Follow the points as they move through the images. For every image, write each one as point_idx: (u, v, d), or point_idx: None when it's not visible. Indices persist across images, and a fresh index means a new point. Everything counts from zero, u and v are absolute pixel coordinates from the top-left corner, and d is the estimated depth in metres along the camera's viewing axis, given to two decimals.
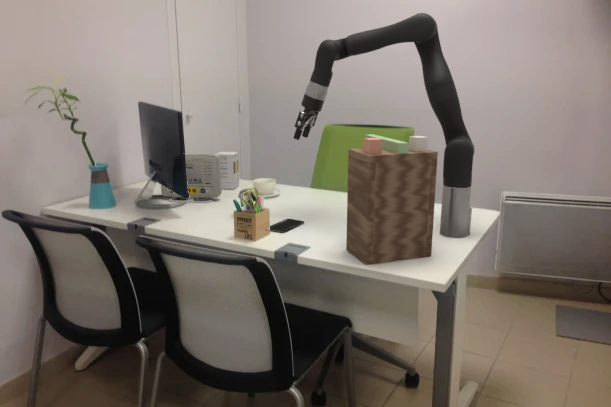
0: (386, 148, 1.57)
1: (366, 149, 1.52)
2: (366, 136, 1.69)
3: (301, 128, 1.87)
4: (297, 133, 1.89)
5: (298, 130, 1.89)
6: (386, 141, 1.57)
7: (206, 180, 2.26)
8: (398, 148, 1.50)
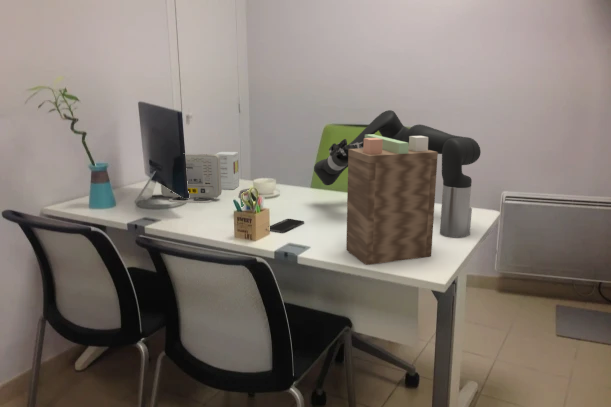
0: (386, 148, 1.57)
1: (366, 149, 1.52)
2: (366, 136, 1.69)
3: (334, 143, 1.88)
4: (340, 143, 1.86)
5: (339, 145, 1.87)
6: (386, 141, 1.57)
7: (206, 180, 2.26)
8: (398, 148, 1.50)
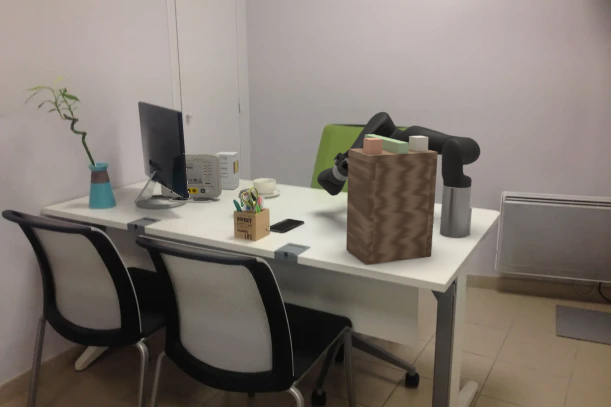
0: (386, 148, 1.57)
1: (366, 149, 1.52)
2: (366, 136, 1.69)
3: None
4: (346, 153, 1.75)
5: (345, 154, 1.76)
6: (386, 141, 1.57)
7: (206, 180, 2.26)
8: (398, 148, 1.50)
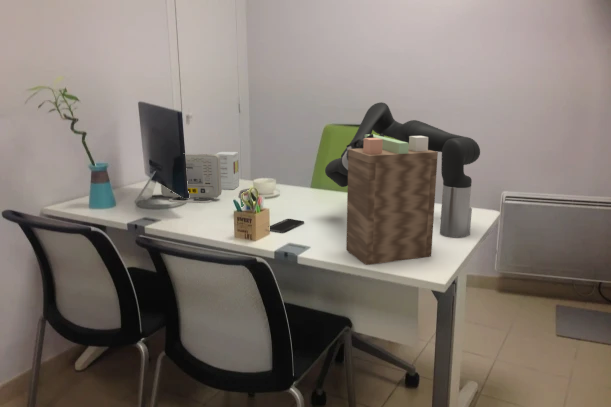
0: (386, 148, 1.57)
1: (366, 149, 1.52)
2: (366, 136, 1.69)
3: (359, 139, 1.68)
4: None
5: None
6: (386, 141, 1.57)
7: (206, 180, 2.26)
8: (398, 148, 1.50)
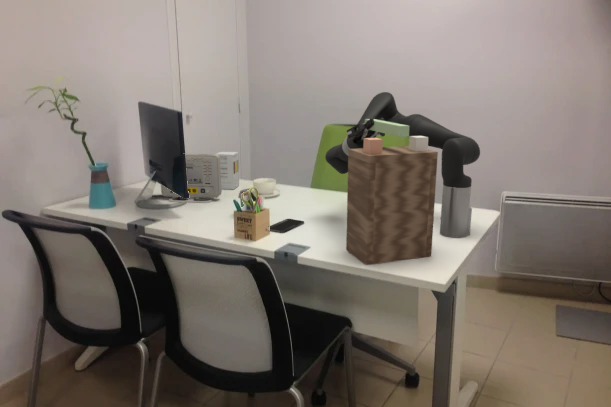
0: (387, 132, 1.56)
1: (366, 149, 1.52)
2: (366, 120, 1.67)
3: (359, 123, 1.67)
4: (366, 123, 1.65)
5: (365, 125, 1.66)
6: (386, 124, 1.55)
7: (206, 180, 2.26)
8: (399, 131, 1.49)
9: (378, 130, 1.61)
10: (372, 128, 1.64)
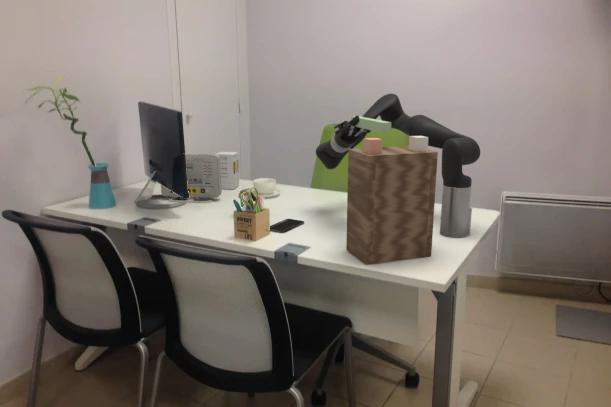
0: (370, 128, 1.65)
1: (366, 149, 1.52)
2: (352, 118, 1.77)
3: None
4: (352, 120, 1.74)
5: (351, 122, 1.75)
6: (370, 121, 1.65)
7: (206, 180, 2.26)
8: (381, 127, 1.59)
9: (363, 127, 1.70)
10: (357, 125, 1.74)
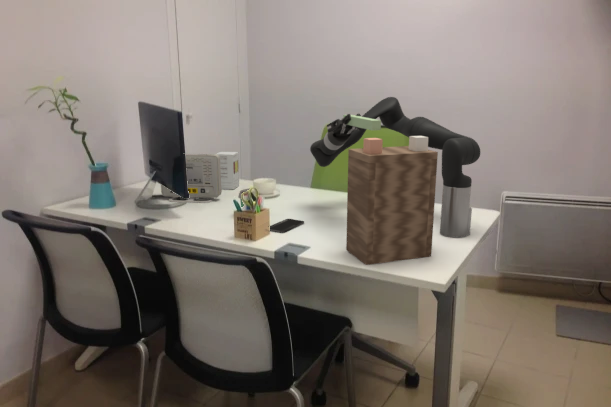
0: (361, 126, 1.71)
1: (366, 149, 1.52)
2: (344, 116, 1.83)
3: (338, 119, 1.82)
4: (344, 119, 1.80)
5: (343, 120, 1.81)
6: (361, 119, 1.71)
7: (206, 180, 2.26)
8: (371, 125, 1.65)
9: (354, 125, 1.76)
10: (349, 123, 1.80)
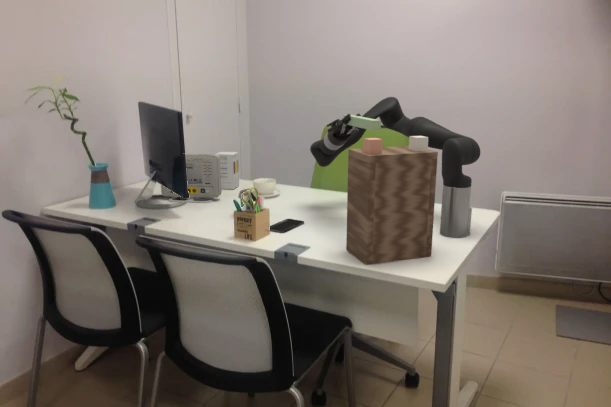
0: (361, 126, 1.71)
1: (366, 149, 1.52)
2: (344, 116, 1.83)
3: (338, 119, 1.82)
4: (344, 119, 1.80)
5: (343, 120, 1.81)
6: (361, 119, 1.71)
7: (206, 180, 2.26)
8: (371, 125, 1.65)
9: (354, 125, 1.76)
10: (349, 123, 1.80)
